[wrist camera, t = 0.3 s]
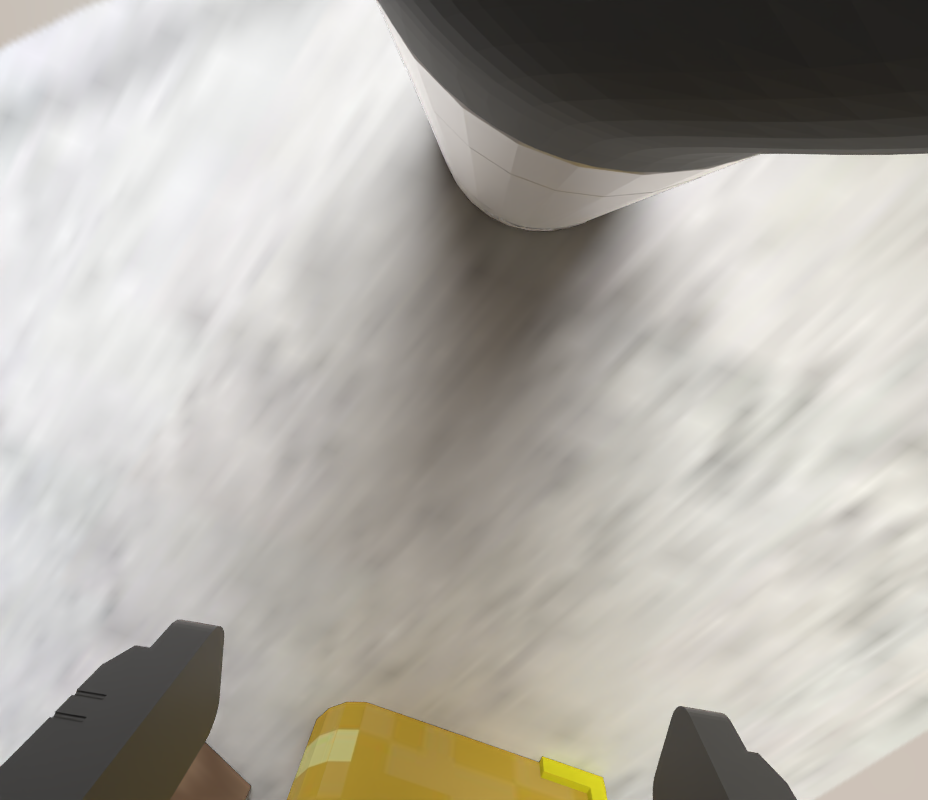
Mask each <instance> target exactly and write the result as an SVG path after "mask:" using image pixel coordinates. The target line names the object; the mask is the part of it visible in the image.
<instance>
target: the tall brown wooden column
mask: <svg viewBox="0 0 928 800" xmlns="http://www.w3.org/2000/svg"><path fill="white" fill-rule="evenodd" d="M250 788H251V786H250V785H249V784H248V783H247V782H246V781H245V780H244V779H243V778H242V777H241V776H240V775H239V774H238V773H237V772H236V771H234V770H233V769H232V768H231V767H230V766H229V765H228V764H227V763H226V762H225V761H224V760H223V759H222V758H221V757H220V756H219V755H218V754H217V753H216V752H215V751H214V750H213V749H212V748H211V747H209V746H208V745H207V744H206V743H204V745H203V746H202V748H201V750H200V751H199V753H198V755H197V756H196V758H195V759H194V761H193V763H192V764H191V766H190V768H189V769H188V771H187V773H186V774H185V776H184V778H183V779H182V781H181V783H180V784H179V786H178V788H177V789H176V791H175V792H174V794H173V796H172V797H171V799H170V800H245V799H246V796H247V794H248V792H249V790H250Z"/></svg>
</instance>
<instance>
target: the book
mask: <svg viewBox="0 0 928 800" xmlns="http://www.w3.org/2000/svg"><path fill="white" fill-rule="evenodd" d="M287 800H607V796H606V789H605V784H604V780H603V777H600V776H597V775H594V774H591V773H589V772H586V771H583V770H580V769H577V768H574V767H571V766H569V765H566V764H563V763H560V762H557V761H554V760H551V759H549V758H546V757H543V756H542V758H541V760H540V762H536V761H534V760H531V759H528V758H525V757H522V756H519V755H516V754H514V753H511V752H508V751H505V750H502V749H499V748H496V747H493V746H491V745H488V744H485V743H482V742H479V741H476V740H473V739H470V738H468V737H465V736H462V735H459V734H456V733H453V732H450V731H447V730H445V729H442V728H439V727H436V726H433V725H430V724H427V723H425V722H422V721H419V720H416V719H413V718H410V717H407V716H404V715H402V714H399V713H396V712H393V711H390V710H387V709H384V708H381V707H379V706H376V705H373V704H370V703H367V702H345V703H343V704H340V705H337V706H334V707H331V708H329V709H328V710H327V711H326V712H325V713H323V714H322V715H321V716H320V717H319V718H318V719H317V720H316V723H315V726H314V728H313V731H312V733H311V736H310V739H309V741H308V744H307V747H306V749H305V752H304V755H303V758H302V760H301V763H300V766H299V768H298V771H297V774H296V776H295V779H294V782H293V784H292V787H291V790H290V792H289V795H288V798H287Z"/></svg>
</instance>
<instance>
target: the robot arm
mask: <svg viewBox="0 0 928 800" xmlns="http://www.w3.org/2000/svg"><path fill="white" fill-rule="evenodd" d="M376 1H377V4H378V6H379V8H380V11H381V13H382V15H383V18H384V20H385V22H386V24H387V27H388V29H389V31H390V34H391V36H392V38H393V41H394V43H395V45H396V48H397V50H398V52H399V55H400V57H401V59H402V62H403V64H404V66H405V67H406V69H407V71H408V74H409V76H410V79H411V81H412V83H413V86H414V88H415V90H416V93H417V95H418V97H419V100H420V102H421V104H422V107H423V109H424V112H425V114H426V116H427V119H428V121H429V123H430V126H431V128H432V130H433V133H434V135H435V138H436V140H437V142H438V145H439V148H440V150H441V152H442V155H443V157H444V159H445V161H446V164H447V166H448V168H449V170H450V172H451V174H452V175H453V177H454V179H455V181H456V183H457V185H458V186H459V187H460V189H461V190H462V191H463V192H464V194H465V195H466V196H467V197H468V199H469V200H470V201H471V202H472V203H473V204H474V205H476V206H477V207H478V208H479V209H481V210H482V211H483V212H484V213H486V214H487V215H488V216H490V217H492V218H494V219H496V220H498V221H500V222H502V223H504V224H506V225H508V226H512V227H516V228H521V229H525V230H530V231H552V230H558V229H566V228H570V227H573V226H577V225H581V224H583V223H586V221H588V220H591V219H594V218H596V217H599V216H602V215H604V214H607V213H610V212H612V211H615V210H617V209H620V208H623V207H625V206H628V205H630V204H633V203H636V202H638V201H641V200H643V199H646V198H648V197H651V196H654V195H656V194H659V193H661V192H664V191H667V190H669V189H672V188H674V187H677V186H680V185H682V184H685V183H687V182H690V181H693V180H695V179H698V178H700V177H702V176H705V175H707V174H710V173H712V172H715V171H717V170H720V169H723V168H725V167H728V166H730V165H733V164H736V163H738V162H741V161H743V160H746V159H748V158H751V157H754V156H756V155H759V154H830V155H893V154H925V153H928V0H376ZM223 645H224V631H223V628H222V627H221V626H215V625H209V624H203V623H197V622H191V621H185V620H176V621H175V622H173V623H172V624H171V625H170V626H169V627H168V629H167V630H166V631H165V632H164V633H163V634H162V635H161V636H160V637H159V638H158V640H157V641H156V642H155V643H154V644H153V645H152V646H151V647H150V648H147V647H141V646H134V647H132V648H130V649H129V650H127V651H125V652H123V653H122V654H120V655H118V656H116V657H115V658H113V659H111V660H109V661H108V662H106V663H104V664H102V665H101V666H100V667H99V668H98V669H97V670H96V671H95V672H94V673H93V674H92V675H91V676H90V677H89V678H88V679H87V680H86V681H85V682H84V683H83V684H82V685H81V686H80V687H79V688H78V689H77V692H76V694H75V695H72V696H71V697H70V698H69V699H68V700H67V701H66V702H65V703H64V704H63V705H62V706H61V707H60V708H59V709H58V710H57V711H56V712H55V715H54V717H53V718H51V717H50V718H49V719H48V720H47V721H46V722H45V723H44V724H43V725H42V726H41V727H40V728H39V729H38V730H37V731H36V732H35V733H34V734H33V735H32V736H31V737H30V738H29V739H28V740H27V741H26V742H25V743H24V744H23V745H22V746H21V747H20V748H19V749H18V750H17V751H16V752H15V753H14V754H13V755H12V756H11V757H10V758H9V759H8V760H7V761H6V762H5V763H4V764H3V765H2V766H1V767H0V800H170V799H171V797H172V796H173V794H174V792H175V791H176V789H177V788H178V786H179V784H180V783H181V781H182V779H183V778H184V776H185V774H186V773H187V771H188V769H189V768H190V766H191V764H192V763H193V761H194V759H195V758H196V756H197V755H198V753H199V751H200V750H201V748H202V746H203V745H204V743H205V741H206V739H207V737H208V735H209V733H210V731H211V728H212V726H213V723H214V720H215V717H216V713H217V709H218V704H219V696H220V683H221V671H222V658H223ZM653 800H797V799H796V797H795V796H794V794H793V792H792V791H791V789H790V787H789V786H788V784H787V783H786V782H785V781H784V780H783V779H782V777H781V776H780V775H779V774H778V773H777V772H776V771H775V770H774V769H773V768H772V767H771V766H770V765H769V764H768V763H767V762H766V761H765V760H764V759H763V758H762V757H761V756H760V755H759V754H758V753H754V752H748V751H747V750H746V748H745V746H744V744H743V743H742V741H741V739H740V737H739V735H738V734H737V732H736V730H735V728H734V726H733V725H732V723H731V721H730V720H729V718H728V717H727V716H726V715H725V714H722V713H718V712H712V711H706V710H700V709H694V708H688V707H682V706H679V707H677V708H676V709H675V711H674V713H673V715H672V718H671V722H670V725H669V728H668V732H667V735H666V739H665V742H664V746H663V749H662V752H661V756H660V759H659V763H658V766H657V770H656V773H655V777H654V783H653Z"/></svg>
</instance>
